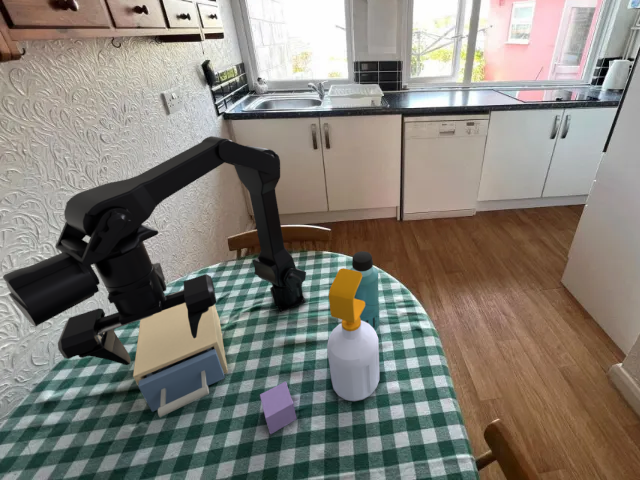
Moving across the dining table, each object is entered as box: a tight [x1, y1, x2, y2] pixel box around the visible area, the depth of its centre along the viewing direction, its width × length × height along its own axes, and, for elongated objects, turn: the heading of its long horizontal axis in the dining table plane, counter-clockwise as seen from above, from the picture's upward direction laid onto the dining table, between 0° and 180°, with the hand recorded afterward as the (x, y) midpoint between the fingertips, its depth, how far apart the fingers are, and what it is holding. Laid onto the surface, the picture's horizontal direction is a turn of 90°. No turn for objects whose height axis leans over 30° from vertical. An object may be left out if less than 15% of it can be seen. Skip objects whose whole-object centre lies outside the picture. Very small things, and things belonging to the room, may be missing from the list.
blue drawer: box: [137, 346, 226, 418], centre depth 58 cm, size 19×11×7 cm, turn 31°
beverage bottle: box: [349, 250, 381, 332], centre depth 65 cm, size 6×7×20 cm
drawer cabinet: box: [132, 303, 229, 386], centre depth 62 cm, size 16×13×9 cm
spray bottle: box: [326, 267, 380, 402], centre depth 54 cm, size 9×9×25 cm
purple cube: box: [259, 381, 297, 435], centre depth 53 cm, size 4×4×4 cm
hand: (163, 348), depth 51 cm, fingers open, 9 cm apart
